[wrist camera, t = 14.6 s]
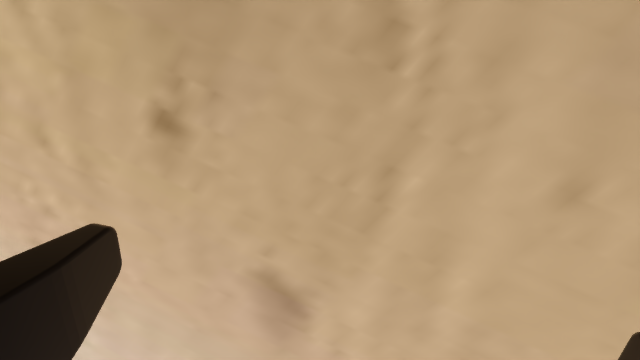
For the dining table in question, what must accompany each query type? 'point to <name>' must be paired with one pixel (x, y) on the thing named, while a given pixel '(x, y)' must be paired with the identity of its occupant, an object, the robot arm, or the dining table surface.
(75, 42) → the dining table surface
